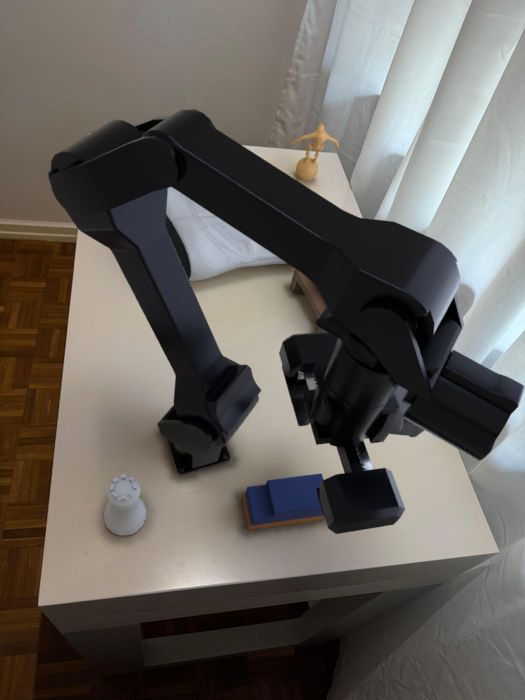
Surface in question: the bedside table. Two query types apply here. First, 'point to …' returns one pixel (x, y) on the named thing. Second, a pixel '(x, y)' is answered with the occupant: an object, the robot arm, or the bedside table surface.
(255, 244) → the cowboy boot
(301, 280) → the brown piece
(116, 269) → the bedside table surface
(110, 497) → the rook chess piece
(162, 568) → the bedside table surface
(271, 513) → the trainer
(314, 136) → the figurine
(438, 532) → the bedside table surface
